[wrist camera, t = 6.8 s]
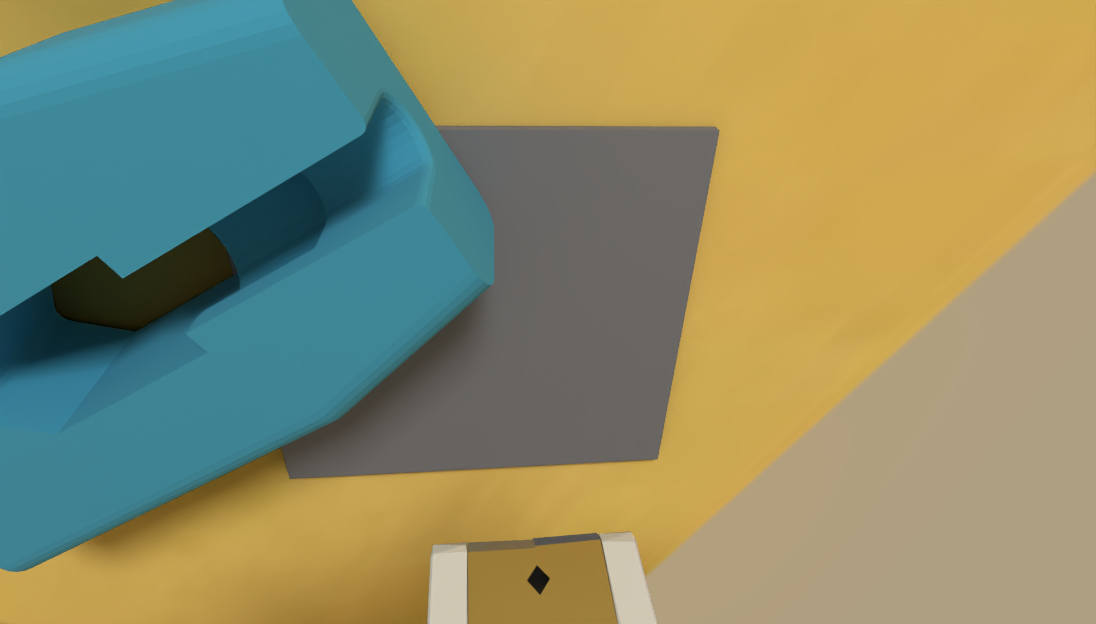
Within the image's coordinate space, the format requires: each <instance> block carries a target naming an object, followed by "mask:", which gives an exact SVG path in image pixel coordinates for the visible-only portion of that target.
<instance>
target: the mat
mask: <svg viewBox="0 0 1096 624" xmlns="http://www.w3.org/2000/svg"><path fill="white" fill-rule="evenodd" d="M435 127H436V128H437V130H438V131H439V133H440V134H441V136H442V137H443V139H444V140H445V142H446V143H447V145H448V146H449V148H450V149H451V151H452V152H453V154H454V155H455V157H456V158H457V160H458V161H459V163H460V164H461V166H462V167H463V169H464V170H465V172H466V173H467V175H468V176H469V178H470V179H471V181H472V182H473V184H474V185H475V187H476V188H477V190H478V191H479V193H480V195H481V196H482V198H483V200H484V202H485V203H486V206H487V208H488V210H489V212H490V215H491V217H492V221H493V224H494V283H493V284H492V285H491V286H490V287H489V288H488V289H487V290H486V291H485V292H483V293H482V294H481V295H480V296H479V297H478V298H477V299H475V300H474V301H473V302H472V303H471V304H470V305H469V306H467V307H466V308H465V309H464V310H463V311H462V312H461V313H459V314H458V315H457V316H456V317H455V318H454V319H453V320H451V321H450V322H449V323H448V324H447V325H446V326H445V327H443V328H442V329H441V330H440V331H439V332H438V333H437V334H436V335H434V336H433V337H432V338H431V339H430V340H429V341H428V342H426V343H425V344H424V345H423V346H422V347H421V348H420V349H418V350H417V351H416V352H415V353H414V354H413V355H412V356H410V357H409V358H408V359H407V360H406V361H405V362H404V363H402V364H401V365H400V366H399V367H398V368H397V369H396V370H394V371H393V372H392V373H391V374H390V375H389V376H388V377H387V378H385V379H384V380H383V381H382V382H381V383H380V384H379V385H377V386H376V387H375V388H374V389H373V390H372V391H371V392H369V393H368V394H367V395H366V396H365V397H364V398H363V399H361V400H360V401H359V402H358V403H357V404H356V405H355V406H353V407H352V408H351V409H350V410H349V411H348V412H347V413H346V414H344V415H343V416H342V417H341V418H340V419H338V420H336V421H334V422H332V423H330V424H328V425H326V426H324V427H322V428H319V429H317V430H315V431H313V432H311V433H309V434H307V435H305V436H303V437H301V438H299V439H297V440H295V441H293V442H291V443H288V444H286V445H284V446H282V447H281V449H282V452H283V456H284V460H285V463H286V467H287V471H288V474H289V478H290V479H296V478H315V477H334V476H352V475H371V474H390V473H409V472H428V471H446V470H465V469H484V468H503V467H522V466H540V465H559V464H578V463H597V462H616V461H634V460H653V459H658V454H659V449H660V444H661V438H662V433H663V428H664V423H665V417H666V412H667V407H668V401H669V396H670V391H671V385H672V380H673V375H674V369H675V364H676V359H677V353H678V348H679V343H680V337H681V332H682V327H683V322H684V316H685V311H686V306H687V300H688V295H689V290H690V284H691V279H692V274H693V268H694V263H695V258H696V252H697V247H698V242H699V237H700V231H701V226H702V221H703V215H704V210H705V205H706V199H707V194H708V189H709V183H710V178H711V173H712V167H713V162H714V157H715V151H716V146H717V141H718V136H719V130H718V129H717V128H716V127H625V126H435ZM227 253H228V251H227ZM228 256H229V260H230V264H231V267H232V271H233V275H236V274H237V273H238V272H237V269H236V267H235V264H234V262H233V260H232V258H231V256H230V254H229V253H228Z"/></svg>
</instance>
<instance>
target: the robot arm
mask: <svg viewBox="0 0 1096 624" xmlns="http://www.w3.org/2000/svg"><path fill="white" fill-rule="evenodd" d="M427 624H657V620H656V616H655V612H654V608H653V605H652V601H651V597H650V594H649V589H648V586H647V582H646V578H645V574H644V570H643V567H642V563H641V559H640V555H639V551H638V547H637V544H636V540H635V537H634V536H633V535H632V533H631V532H629V531H627V532H616V533H605V534H597V533H591V534H579V535H567V536H555V537H544V538H533V540H513V541H494V542H474V543H468V544H467V543H453V544H438V545H433V548H432V553H431V561H430V580H429V599H428V618H427Z"/></svg>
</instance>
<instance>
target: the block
mask: <svg viewBox="0 0 1096 624" xmlns="http://www.w3.org/2000/svg"><path fill="white" fill-rule="evenodd" d="M206 228H209V229H210V230H211V231H212V232H213V233H214V234H215V235H216V236H217V238H218V239H219V240H220V241H221V243H222V244H223V245H224V246H225V248H226V250H227V251H228V253H229V254H230V256H231V258H232V260H233V262H234V264H235V267H236V269H237V272H238V273H237V274H236V275H233V276H232V277H230V278H228V279H226V280H225V281H223V282H221V283H219V284H218V285H216V286H214V287H212V288H211V289H209V290H207V291H205V292H204V293H202V294H200V295H198V296H197V297H195V298H193V299H191V300H190V301H188V302H186V303H184V304H183V305H181V306H179V307H177V308H176V309H174V310H172V311H170V312H169V313H167V314H165V315H163V316H162V317H160V318H158V319H156V320H155V321H153V322H151V323H149V324H148V325H146V326H144V327H142V328H141V329H139V330H137V331H135V332H134V331H129V330H123V329H117V328H111V327H105V326H99V325H93V324H87V323H81V322H76V321H71V320H68V319H65V318H64V317H62V316H60V314H59V313H58V312H57V311H56V309H55V306H54V300H53V294H52V288H51V284H52V283H54V282H55V281H57V280H59V279H60V278H62V277H63V276H65V275H67V274H68V273H70V272H72V271H73V270H75V269H76V268H78V267H80V266H81V265H83V264H84V263H86V262H88V261H89V260H91V259H93V258H94V257H96V256H98V257H99V258H100V259H101V260H102V261H103V262H105V263H106V264H107V265H108V266H109V267H110V268H111V269H112V270H114V271H115V272H116V273H117V274H118V275H119V276H120V277H122V278H124V277H126V276H128V275H129V274H131V273H133V272H134V271H136V270H138V269H139V268H141V267H143V266H144V265H146V264H148V263H149V262H151V261H153V260H154V259H156V258H158V257H159V256H161V255H163V254H164V253H166V252H168V251H169V250H171V249H173V248H174V247H176V246H178V245H179V244H181V243H183V242H184V241H186V240H188V239H189V238H191V237H193V236H194V235H196V234H198V233H199V232H201V231H203V230H204V229H206ZM493 283H494V224H493V221H492V217H491V215H490V212H489V210H488V208H487V206H486V203H485V202H484V200H483V198H482V196H481V195H480V193H479V191H478V190H477V188H476V187H475V185H474V184H473V182H472V181H471V179H470V178H469V176H468V175H467V173H466V172H465V170H464V169H463V167H462V166H461V164H460V163H459V161H458V160H457V158H456V157H455V155H454V154H453V152H452V151H451V149H450V148H449V146H448V145H447V143H446V142H445V140H444V139H443V137H442V136H441V134H440V133H439V131H438V130H437V128H436V127H435V125H434V124H433V122H432V121H431V119H430V118H429V116H428V115H427V113H426V112H425V110H424V109H423V107H422V106H421V104H420V102H419V101H418V99H417V98H416V96H415V95H414V93H413V92H412V90H411V89H410V87H409V86H408V84H407V83H406V81H405V80H404V78H403V77H402V75H401V74H400V72H399V71H398V69H397V68H396V66H395V65H394V63H393V62H392V60H391V59H390V57H389V56H388V54H387V53H386V51H385V50H384V48H383V47H382V45H381V44H380V42H379V41H378V39H377V38H376V36H375V35H374V33H373V32H372V30H371V29H370V27H369V26H368V24H367V23H366V21H365V20H364V18H363V17H362V15H361V14H360V12H359V11H358V9H357V8H356V6H355V5H354V3H353V2H352V0H175V1H172V2H168V3H165V4H161V5H158V6H154V7H151V8H147V9H144V10H140V11H137V12H134V13H130V14H127V15H123V16H120V17H116V18H113V19H109V20H106V21H102V22H99V23H96V24H92V25H89V26H85V27H82V28H78V29H75V30H71V31H68V32H64V33H61V34H59V35H56V36H54V37H51V38H49V39H46V40H43V41H41V42H38V43H36V44H33V45H31V46H28V47H26V48H23V49H21V50H18V51H15V52H13V53H10V54H8V55H5V56H3V57H0V568H1V569H4V570H7V571H13V572H19V571H25V570H28V569H30V568H33V567H35V566H37V565H39V564H41V563H43V562H45V561H47V560H49V559H51V558H53V557H55V556H57V555H59V554H61V553H63V552H66V551H68V550H70V549H72V548H74V547H76V546H78V545H80V544H82V543H84V542H86V541H88V540H90V539H92V538H94V537H97V536H99V535H101V534H103V533H105V532H107V531H109V530H111V529H113V528H115V527H117V526H119V525H121V524H123V523H125V522H127V521H130V520H132V519H134V518H136V517H138V516H140V515H142V514H144V513H146V512H148V511H150V510H152V509H154V508H156V507H158V506H161V505H163V504H165V503H167V502H169V501H171V500H173V499H175V498H177V497H179V496H181V495H183V494H185V493H187V492H189V491H191V490H194V489H196V488H198V487H200V486H202V485H204V484H206V483H208V482H210V481H212V480H214V479H216V478H218V477H220V476H222V475H224V474H227V473H229V472H231V471H233V470H235V469H237V468H239V467H241V466H243V465H245V464H247V463H249V462H251V461H253V460H255V459H258V458H260V457H262V456H264V455H266V454H268V453H270V452H272V451H274V450H276V449H278V448H280V447H282V446H284V445H286V444H288V443H291V442H293V441H295V440H297V439H299V438H301V437H303V436H305V435H307V434H309V433H311V432H313V431H315V430H317V429H319V428H322V427H324V426H326V425H328V424H330V423H332V422H334V421H336V420H338V419H340V418H341V417H342V416H343V415H344V414H346V413H347V412H348V411H349V410H350V409H351V408H352V407H353V406H355V405H356V404H357V403H358V402H359V401H360V400H361V399H363V398H364V397H365V396H366V395H367V394H368V393H369V392H371V391H372V390H373V389H374V388H375V387H376V386H377V385H379V384H380V383H381V382H382V381H383V380H384V379H385V378H387V377H388V376H389V375H390V374H391V373H392V372H393V371H394V370H396V369H397V368H398V367H399V366H400V365H401V364H402V363H404V362H405V361H406V360H407V359H408V358H409V357H410V356H412V355H413V354H414V353H415V352H416V351H417V350H418V349H420V348H421V347H422V346H423V345H424V344H425V343H426V342H428V341H429V340H430V339H431V338H432V337H433V336H434V335H436V334H437V333H438V332H439V331H440V330H441V329H442V328H443V327H445V326H446V325H447V324H448V323H449V322H450V321H451V320H453V319H454V318H455V317H456V316H457V315H458V314H459V313H461V312H462V311H463V310H464V309H465V308H466V307H467V306H469V305H470V304H471V303H472V302H473V301H474V300H475V299H477V298H478V297H479V296H480V295H481V294H482V293H483V292H485V291H486V290H487V289H488V288H489V287H490V286H491V285H492V284H493Z"/></svg>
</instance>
